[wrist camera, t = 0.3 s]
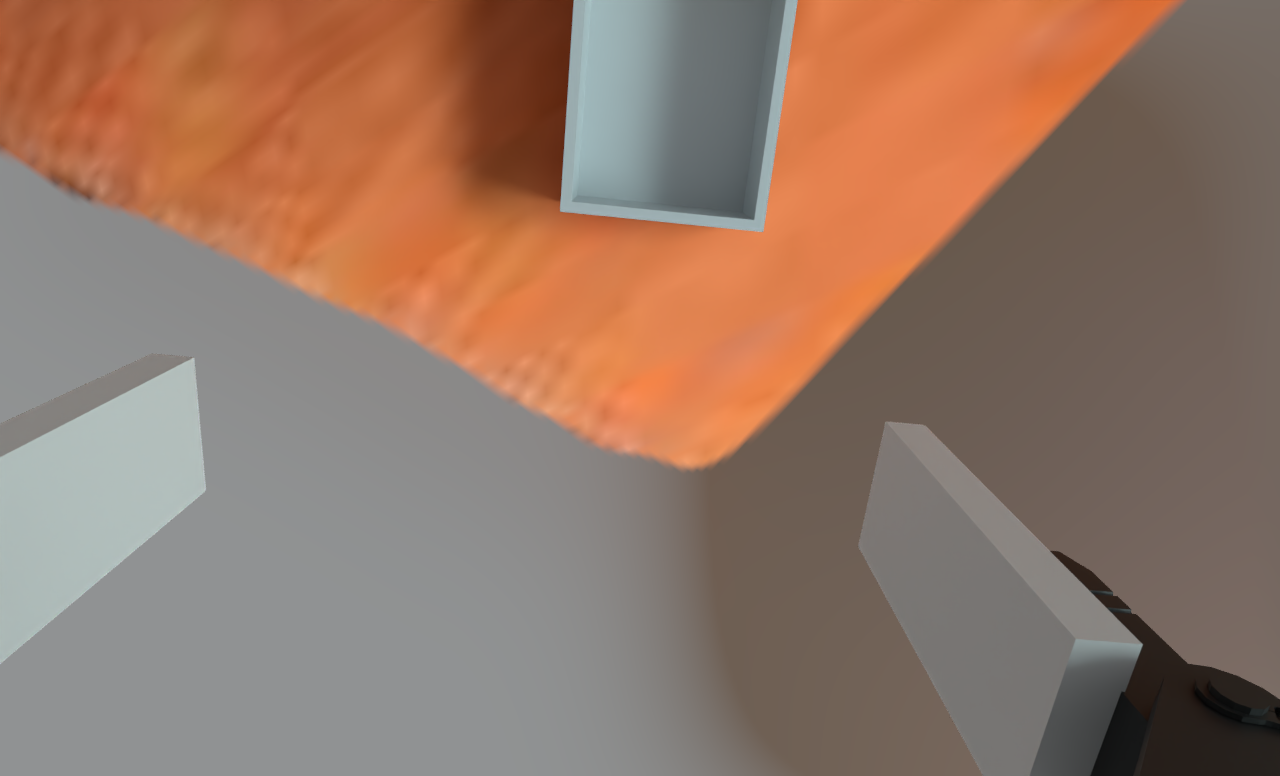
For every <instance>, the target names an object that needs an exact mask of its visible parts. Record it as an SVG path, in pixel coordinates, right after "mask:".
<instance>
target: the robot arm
mask: <svg viewBox="0 0 1280 776" xmlns="http://www.w3.org/2000/svg"><path fill="white" fill-rule="evenodd" d="M205 491H206V485H205V474H204V463H203V451H202V440H201V429H200V418H199V408H198V396H197V385H196V374H195V362H194V357H183V356H173V355H162V354H150V355H148V356H146V357H144V358H141V359H140V360H137V361H135V362H133V363H131V364H129V365H126V366H124V367H122V368H120V369H118V370H115V371H114V372H111V373H109V374H107V375H105V376H102V377H101V378H98V379H96V380H94V381H92V382H89V383H88V384H85V385H83V386H81V387H79V388H76V389H74V390H72V391H70V392H68V393H66V394H63V395H61V396H59V397H57V398H55V399H53V400H51V401H48V402H46V403H44V404H42V405H40V406H37V407H36V408H33V409H31V410H29V411H27V412H25V413H22V414H20V415H18V416H16V417H14V418H11V419H9V420H7V421H5V422H3V423H1V424H0V664H1V663H2V662H3V661H4V660H5V659H7V658H8V657H9V656H10V655H11V654H12V653H14V652H15V651H16V650H17V649H18V648H20V647H21V646H22V645H23V644H24V643H26V642H27V641H28V640H29V639H30V638H31V637H33V636H34V635H35V634H36V633H37V632H39V631H40V630H41V629H42V628H43V627H45V626H46V625H47V624H48V623H49V622H50V621H52V620H53V619H54V618H55V617H56V616H58V615H59V614H60V613H61V612H62V611H64V610H65V609H66V608H67V607H68V606H70V605H71V604H72V603H73V602H74V601H75V600H77V599H78V598H79V597H80V596H81V595H83V594H84V593H85V592H86V591H87V590H89V589H90V588H91V587H92V586H93V585H94V584H96V583H97V582H98V581H99V580H100V579H102V578H103V577H104V576H105V575H106V574H108V573H109V572H110V571H111V570H112V569H114V568H115V567H116V566H117V565H118V564H119V563H121V562H122V561H123V560H124V559H125V558H126V557H128V556H129V555H130V554H131V553H133V552H134V551H135V550H136V549H137V548H138V547H140V546H141V545H142V544H143V543H144V542H146V541H147V540H148V539H149V538H150V537H151V536H153V535H154V534H155V533H156V532H157V531H159V530H160V529H161V528H162V527H163V526H165V525H166V524H167V523H168V522H169V521H171V520H172V519H173V518H174V517H175V516H176V515H178V514H179V513H180V512H181V511H182V510H183V509H185V508H186V507H187V506H188V505H190V504H191V503H192V502H193V501H194V500H196V499H197V498H198V497H199V496H200V495H201V494H203V493H204V492H205ZM858 547H859V549H860V550H861V552H862V554H863V556H864V558H865V559H866V562H867V563H868V565H869V567H870V569H871V571H872V572H873V574H874V576H875V578H876V580H877V582H878V583H879V585H880V587H881V589H882V591H883V593H884V595H885V596H886V598H887V600H888V602H889V604H890V606H891V608H892V609H893V611H894V613H895V615H896V616H897V618H898V620H899V622H900V624H901V626H902V628H903V630H904V631H905V633H906V635H907V637H908V639H909V641H910V642H911V644H912V646H913V648H914V650H915V652H916V653H917V655H918V657H919V659H920V661H921V663H922V664H923V666H924V668H925V670H926V672H927V673H928V676H929V677H930V679H931V681H932V683H933V685H934V686H935V688H936V690H937V692H938V694H939V696H940V697H941V699H942V701H943V703H944V705H945V707H946V709H947V710H948V712H949V714H950V716H951V718H952V719H953V721H954V723H955V725H956V727H957V729H958V731H959V732H960V734H961V736H962V738H963V740H964V742H965V744H966V745H967V747H968V749H969V751H970V753H971V755H972V756H973V758H974V760H975V762H976V764H977V766H978V767H979V769H980V771H981V773H982V775H983V776H1280V699H1278V698H1277V697H1275V696H1274V695H1272V694H1271V693H1269V692H1268V691H1266V690H1265V689H1263V688H1261V687H1259V686H1257V685H1255V684H1253V683H1251V682H1249V681H1247V680H1245V679H1242V678H1241V677H1238V676H1236V675H1233V674H1230V673H1227V672H1224V671H1221V670H1218V669H1215V668H1212V667H1206V666H1200V665H1193V664H1187V662H1185V661H1184V660H1183V659H1182V658H1181V657H1180V656H1179V655H1178V654H1177V653H1176V652H1175V651H1174V650H1173V649H1172V648H1171V647H1170V646H1169V645H1168V644H1166V642H1165V641H1163V640H1162V639H1161V638H1160V637H1159V636H1158V635H1157V634H1156V633H1155V632H1154V631H1153V630H1152V629H1151V628H1150V627H1149V626H1148V625H1147V624H1146V623H1145V622H1144V621H1143V620H1142V619H1141V618H1140V617H1139V616H1137V615H1136V614H1132V613H1131V609H1130V608H1129V607H1128V606H1127V605H1126V604H1125V603H1124V602H1123V601H1122V600H1121V599H1120V598H1119V597H1118V596H1113V592H1112V591H1111V590H1110V589H1109V588H1108V587H1107V586H1106V585H1105V584H1104V583H1103V582H1102V581H1101V580H1100V579H1099V578H1098V577H1097V576H1096V575H1095V574H1094V573H1093V572H1092V571H1090V570H1089V569H1087V568H1085V567H1084V566H1082V565H1080V564H1079V563H1077V562H1075V561H1074V560H1072V559H1070V558H1069V557H1067V556H1065V555H1064V554H1062V553H1061V552H1058V551H1049V550H1048V549H1047V548H1046V547H1045V546H1044V545H1043V544H1042V543H1041V542H1040V541H1039V540H1038V539H1037V538H1036V537H1035V536H1034V535H1033V534H1032V533H1031V532H1030V531H1029V530H1028V529H1027V528H1026V527H1025V526H1024V525H1023V524H1022V523H1021V522H1020V521H1019V520H1018V519H1017V518H1016V517H1015V516H1014V515H1013V514H1012V513H1011V512H1010V511H1009V510H1008V508H1006V507H1005V505H1003V504H1002V503H1001V502H1000V501H999V499H998V498H997V497H995V495H994V494H993V493H991V491H989V489H987V488H986V486H985V485H984V484H982V482H981V481H980V480H979V479H978V478H977V477H976V476H974V474H973V473H972V472H971V471H970V470H968V468H967V467H966V466H965V465H964V464H963V463H962V462H961V461H960V460H959V459H958V458H957V457H956V456H955V455H954V454H953V453H952V452H951V451H950V450H949V449H948V448H947V447H946V446H945V445H944V444H943V443H942V442H941V441H940V440H939V439H938V438H937V437H936V436H935V435H934V434H933V433H932V432H931V431H930V430H929V429H928V428H927V427H926V426H925V425H917V424H906V423H897V422H885V427H884V432H883V436H882V441H881V445H880V450H879V455H878V459H877V464H876V468H875V473H874V477H873V482H872V486H871V491H870V495H869V500H868V505H867V509H866V514H865V518H864V523H863V527H862V532H861V536H860V541H859V546H858Z"/></svg>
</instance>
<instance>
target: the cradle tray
mask: <svg viewBox="0 0 1280 776" xmlns="http://www.w3.org/2000/svg"><path fill="white" fill-rule="evenodd" d="M797 1H798V0H574V4H573V19H572V34H571V50H570V65H569V81H568V96H567V111H566V127H565V142H564V157H563V173H562V188H561V203H560V212H570V213H580V214H590V215H600V216H609V217H619V218H629V219H639V220H649V221H659V222H669V223H679V224H689V225H699V226H709V227H719V228H729V229H739V230H749V231H759V232H763V230H764V223H765V216H766V210H767V203H768V196H769V189H770V183H771V176H772V169H773V162H774V156H775V149H776V142H777V136H778V129H779V122H780V115H781V109H782V102H783V95H784V88H785V82H786V75H787V68H788V61H789V55H790V48H791V41H792V34H793V28H794V21H795V14H796V7H797Z"/></svg>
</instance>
